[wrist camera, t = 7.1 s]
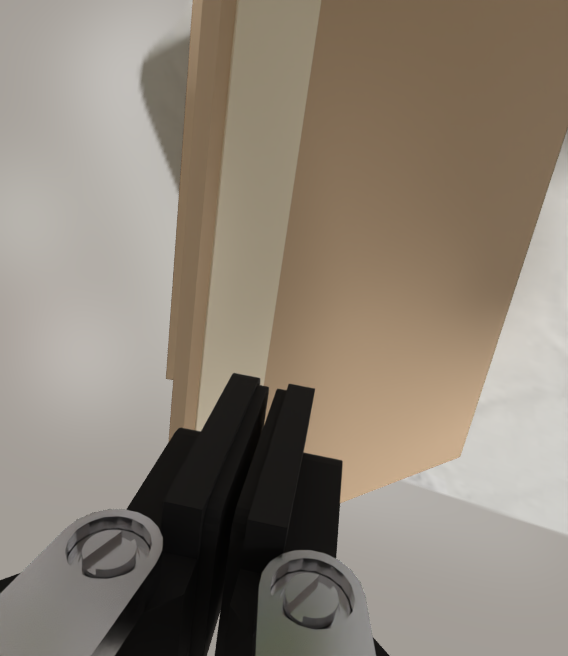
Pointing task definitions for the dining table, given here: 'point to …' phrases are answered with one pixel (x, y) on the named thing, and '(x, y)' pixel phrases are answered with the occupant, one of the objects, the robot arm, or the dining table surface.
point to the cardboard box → (184, 181)
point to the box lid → (364, 212)
